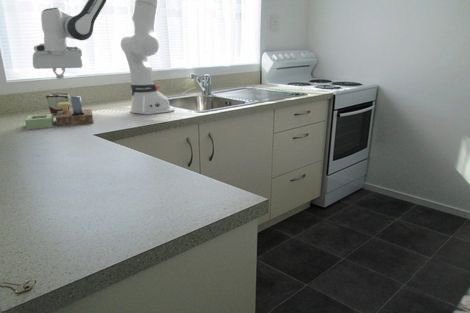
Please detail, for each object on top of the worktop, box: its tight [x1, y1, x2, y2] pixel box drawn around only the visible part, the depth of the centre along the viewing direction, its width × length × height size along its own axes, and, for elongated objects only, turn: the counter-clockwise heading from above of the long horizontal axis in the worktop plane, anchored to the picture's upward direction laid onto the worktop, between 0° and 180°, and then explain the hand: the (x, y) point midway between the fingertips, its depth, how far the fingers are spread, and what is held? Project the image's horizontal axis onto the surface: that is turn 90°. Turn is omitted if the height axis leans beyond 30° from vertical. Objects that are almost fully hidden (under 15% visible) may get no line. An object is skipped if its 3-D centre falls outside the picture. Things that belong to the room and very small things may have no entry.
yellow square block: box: [58, 101, 72, 113], centre depth 174 cm, size 5×5×5 cm
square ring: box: [24, 113, 54, 130], centre depth 165 cm, size 10×10×4 cm
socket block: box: [55, 108, 94, 127], centre depth 173 cm, size 15×15×4 cm
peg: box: [70, 95, 83, 116], centre depth 170 cm, size 4×4×12 cm
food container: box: [45, 92, 71, 115], centre depth 192 cm, size 12×6×10 cm, turn 84°
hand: (60, 78), depth 170 cm, fingers closed
